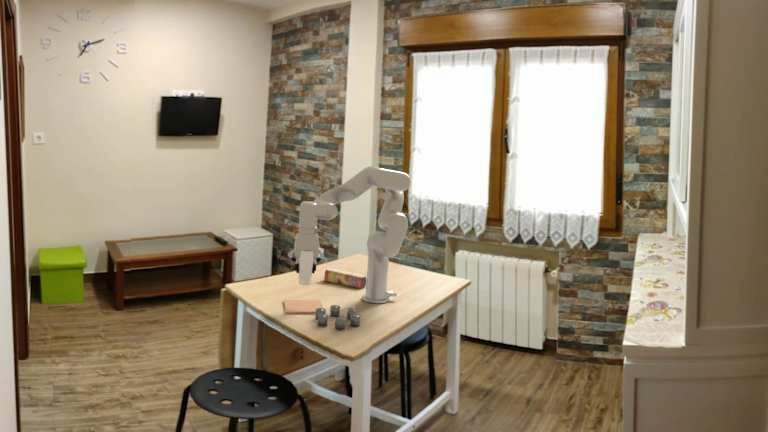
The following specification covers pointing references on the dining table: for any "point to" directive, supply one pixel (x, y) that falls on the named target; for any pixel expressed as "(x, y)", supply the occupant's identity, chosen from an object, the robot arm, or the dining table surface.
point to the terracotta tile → (302, 306)
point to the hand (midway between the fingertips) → (305, 272)
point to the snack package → (345, 278)
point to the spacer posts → (339, 321)
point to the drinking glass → (305, 267)
